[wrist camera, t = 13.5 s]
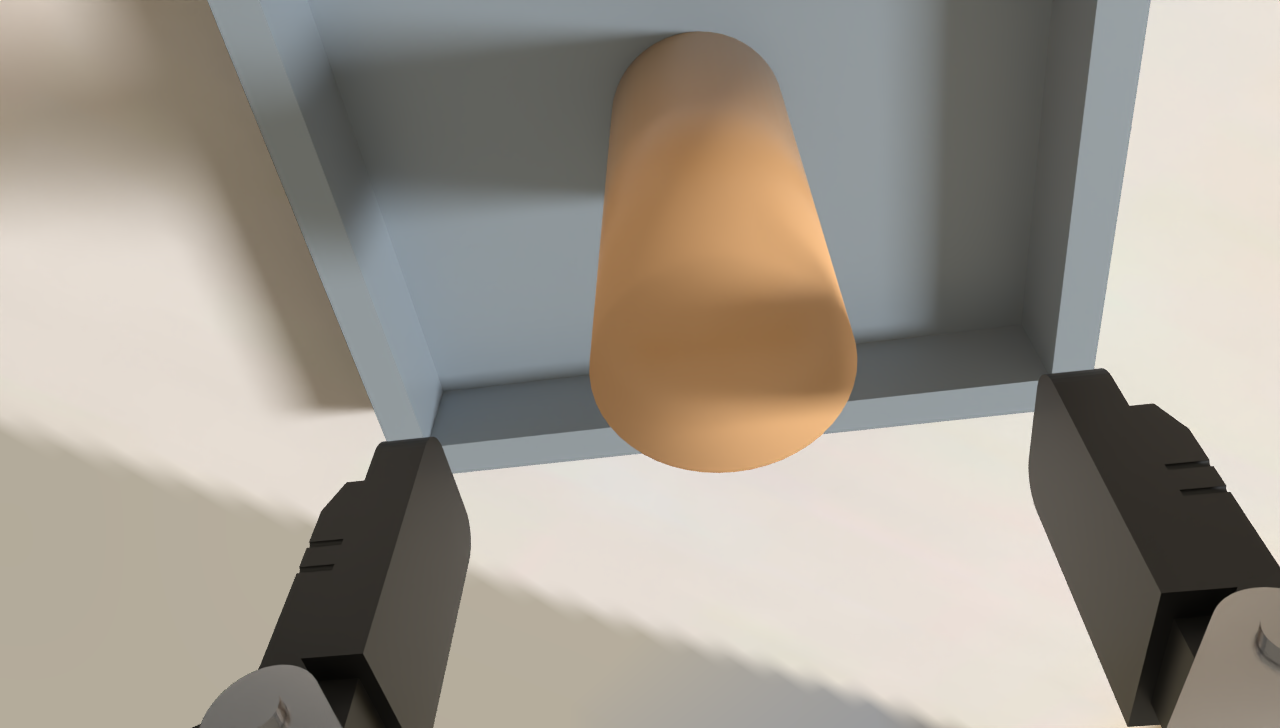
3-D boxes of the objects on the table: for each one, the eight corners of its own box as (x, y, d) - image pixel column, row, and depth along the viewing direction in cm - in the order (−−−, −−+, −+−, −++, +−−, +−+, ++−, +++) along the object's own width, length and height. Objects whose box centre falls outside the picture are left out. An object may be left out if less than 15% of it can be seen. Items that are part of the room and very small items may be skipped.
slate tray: (1133, -381, 18) (1210, -385, 15) (1049, 338, 27) (1088, 405, 24) (196, -208, 19) (131, -187, 17) (423, 409, 29) (401, 478, 26)
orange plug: (777, 18, 21) (854, 239, 13) (788, 184, 24) (860, 458, 15) (597, 46, 22) (565, 276, 14) (626, 206, 24) (613, 484, 16)
